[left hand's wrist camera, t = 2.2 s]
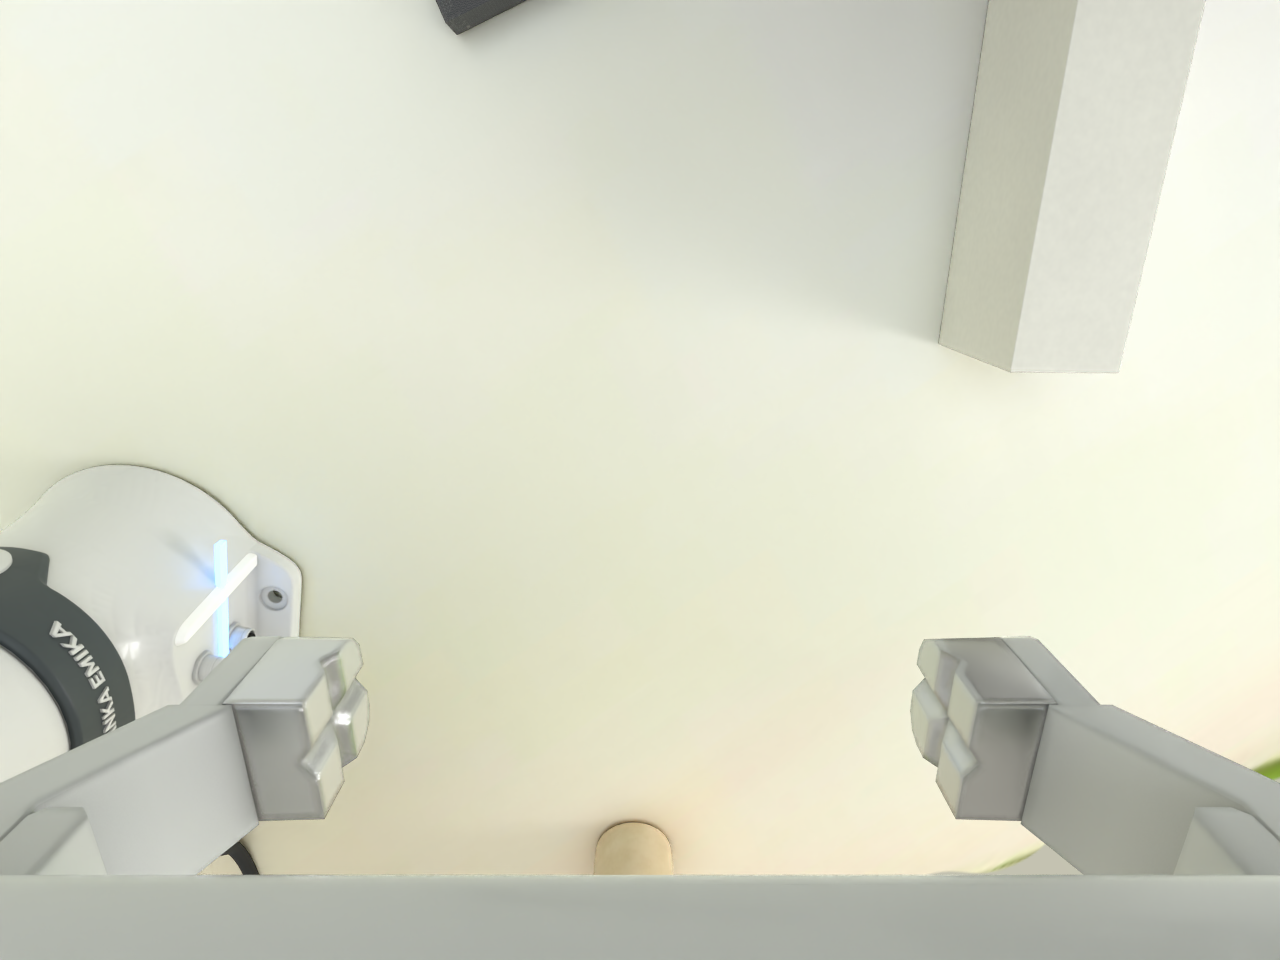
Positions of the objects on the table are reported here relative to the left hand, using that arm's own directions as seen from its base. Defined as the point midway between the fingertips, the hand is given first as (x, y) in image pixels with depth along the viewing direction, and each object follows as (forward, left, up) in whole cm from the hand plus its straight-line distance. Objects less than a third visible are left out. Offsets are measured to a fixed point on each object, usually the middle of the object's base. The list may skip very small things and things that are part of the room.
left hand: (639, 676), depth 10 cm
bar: (+13, -19, -31) cm, 39 cm away
